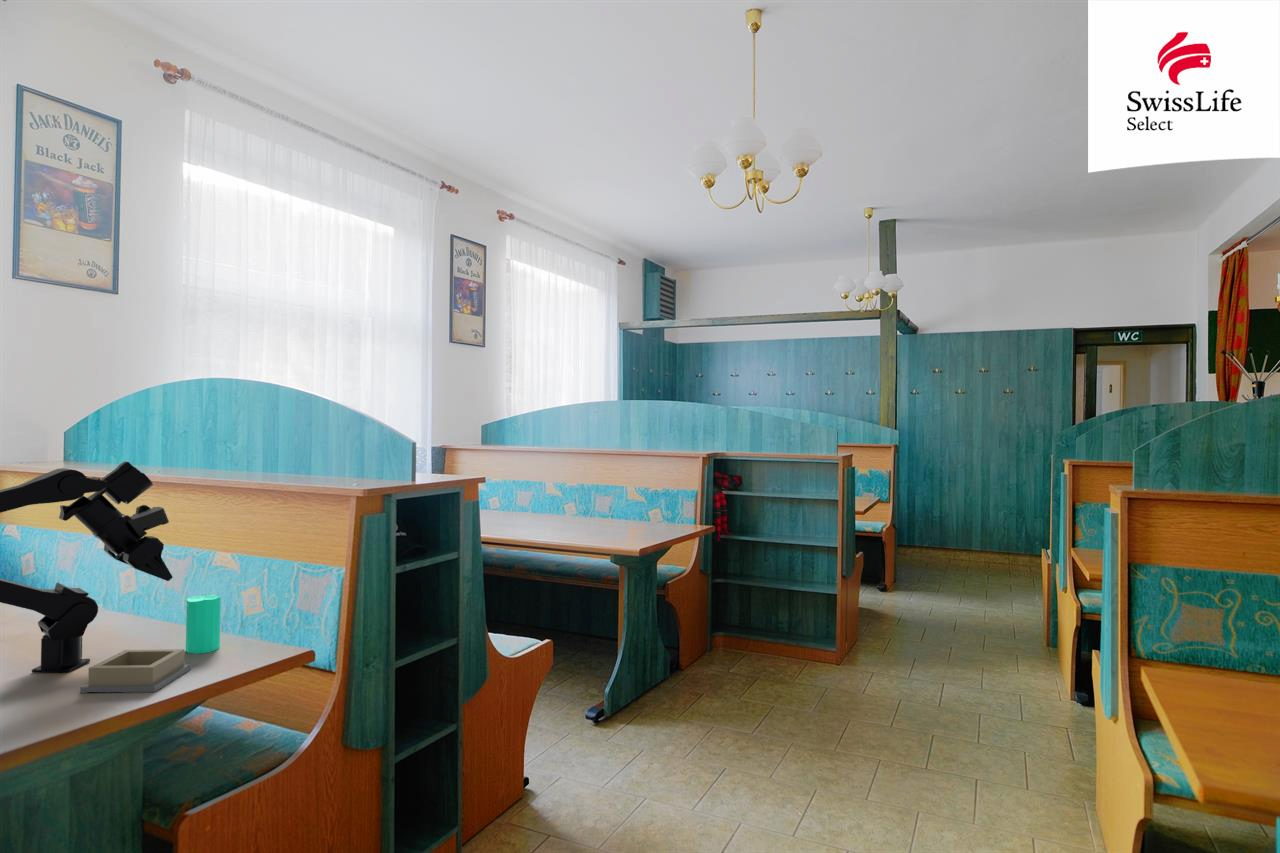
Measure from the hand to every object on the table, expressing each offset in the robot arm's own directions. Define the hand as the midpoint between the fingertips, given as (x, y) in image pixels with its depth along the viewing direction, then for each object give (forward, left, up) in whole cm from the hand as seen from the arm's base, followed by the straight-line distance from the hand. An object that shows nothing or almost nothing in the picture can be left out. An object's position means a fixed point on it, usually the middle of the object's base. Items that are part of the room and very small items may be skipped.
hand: (163, 575), depth 150 cm
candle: (0, -8, -15) cm, 17 cm away
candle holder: (-19, -6, -15) cm, 25 cm away
